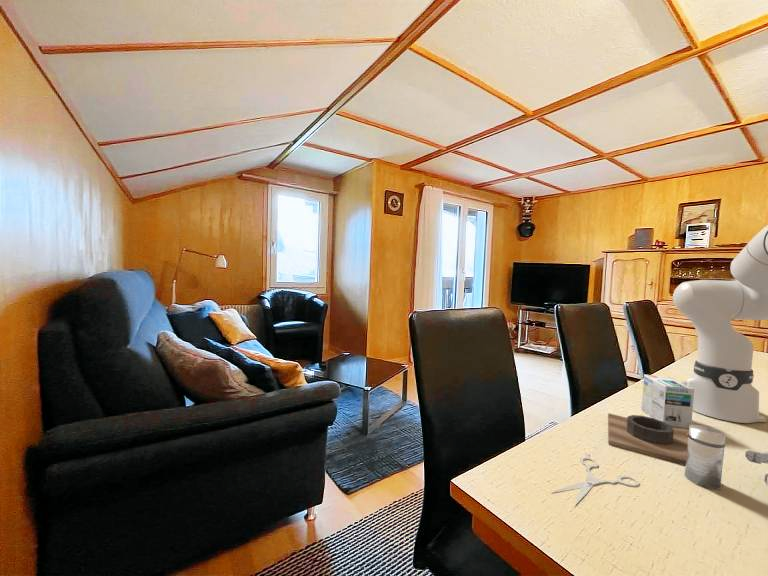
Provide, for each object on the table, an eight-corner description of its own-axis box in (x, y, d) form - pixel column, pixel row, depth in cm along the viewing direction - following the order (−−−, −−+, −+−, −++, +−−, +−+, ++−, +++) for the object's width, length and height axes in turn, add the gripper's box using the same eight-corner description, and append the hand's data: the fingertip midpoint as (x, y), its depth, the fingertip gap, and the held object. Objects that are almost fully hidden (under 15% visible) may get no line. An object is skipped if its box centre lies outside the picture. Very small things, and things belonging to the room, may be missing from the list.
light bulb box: (692, 429, 85) (696, 388, 84) (662, 426, 86) (666, 386, 86) (665, 412, 95) (669, 375, 95) (639, 409, 97) (642, 373, 96)
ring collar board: (608, 416, 91) (609, 402, 90) (685, 434, 82) (686, 419, 82) (608, 444, 76) (609, 427, 76) (702, 470, 67) (704, 451, 67)
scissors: (644, 479, 63) (594, 518, 52) (644, 483, 63) (594, 522, 52) (586, 452, 72) (533, 480, 61) (586, 455, 72) (532, 484, 61)
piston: (681, 469, 67) (686, 422, 66) (716, 479, 64) (721, 429, 63) (687, 482, 63) (692, 431, 62) (724, 493, 60) (730, 440, 59)
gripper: (845, 450, 60) (738, 427, 68) (940, 519, 43) (782, 478, 51) (841, 483, 60) (734, 456, 68) (933, 564, 43) (777, 517, 51)
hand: (755, 466), depth 59 cm, fingers open, 8 cm apart
